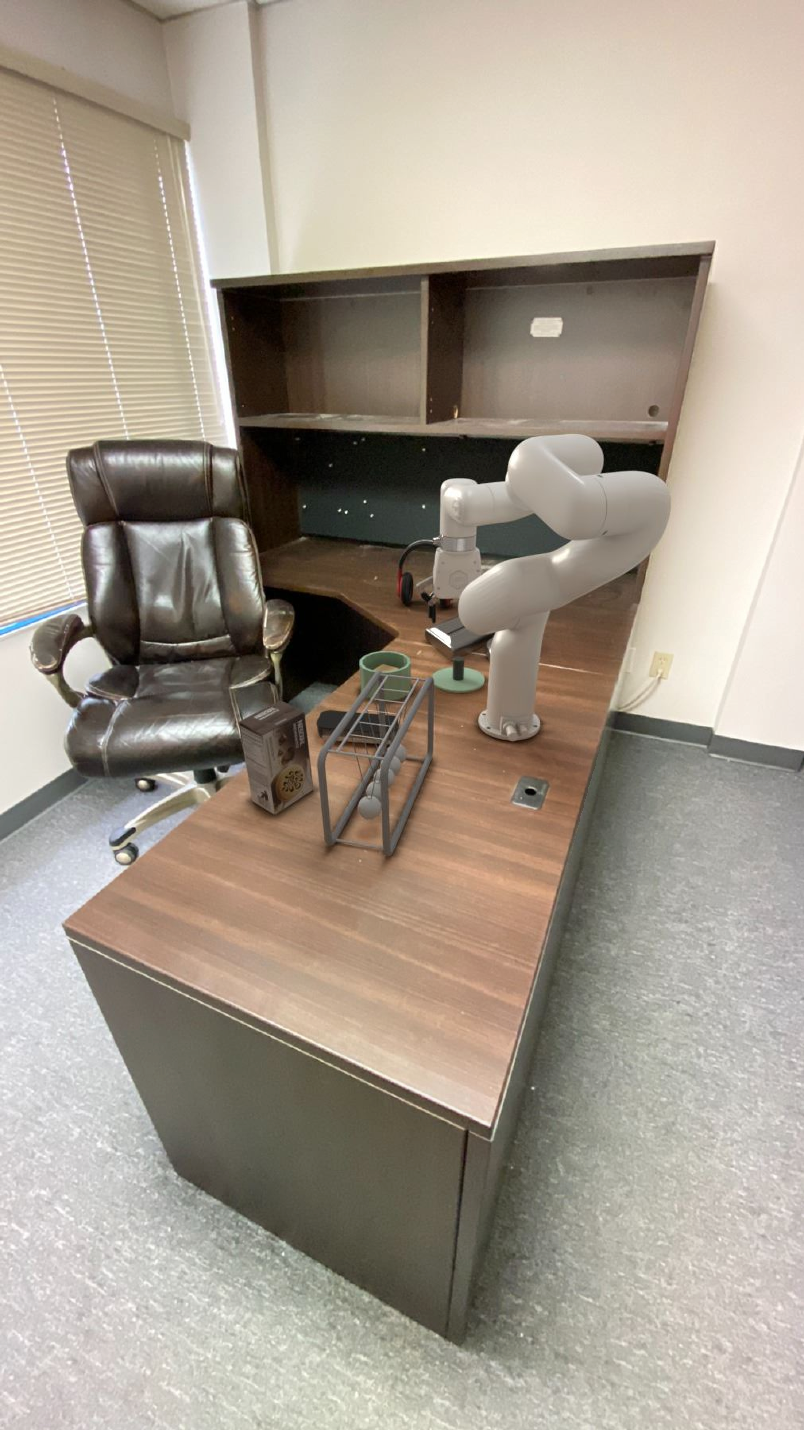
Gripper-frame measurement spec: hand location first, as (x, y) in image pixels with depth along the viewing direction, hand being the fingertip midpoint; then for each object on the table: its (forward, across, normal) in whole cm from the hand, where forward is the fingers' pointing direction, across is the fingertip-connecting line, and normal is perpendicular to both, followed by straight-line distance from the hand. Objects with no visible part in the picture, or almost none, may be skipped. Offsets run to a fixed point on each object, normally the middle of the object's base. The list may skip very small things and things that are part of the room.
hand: (454, 620), depth 135 cm
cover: (+15, +1, 0) cm, 15 cm away
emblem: (+16, +10, +23) cm, 29 cm away
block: (+15, -16, -3) cm, 22 cm away
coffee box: (+16, -35, -40) cm, 56 cm away
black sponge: (+16, -22, -22) cm, 35 cm away
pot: (+16, -16, -3) cm, 22 cm away
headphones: (+16, -1, +54) cm, 56 cm away
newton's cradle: (+16, -18, -43) cm, 49 cm away
